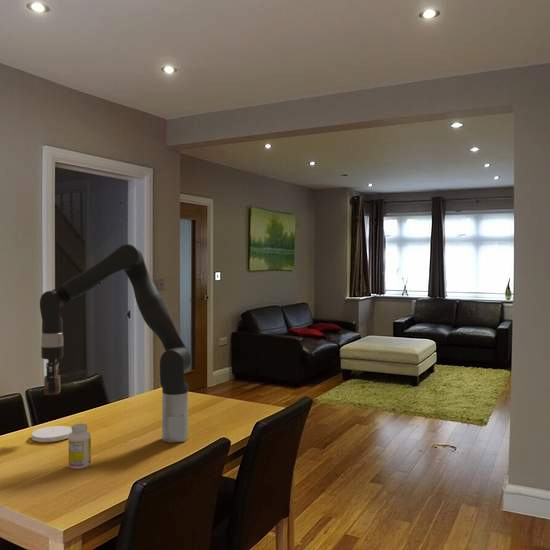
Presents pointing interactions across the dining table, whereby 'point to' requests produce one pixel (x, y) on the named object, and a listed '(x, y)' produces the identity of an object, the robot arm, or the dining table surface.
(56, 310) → the robot arm
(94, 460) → the dining table surface
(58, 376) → the walnut block
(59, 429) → the plastic lid
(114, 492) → the dining table surface
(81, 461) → the supplement bottle
